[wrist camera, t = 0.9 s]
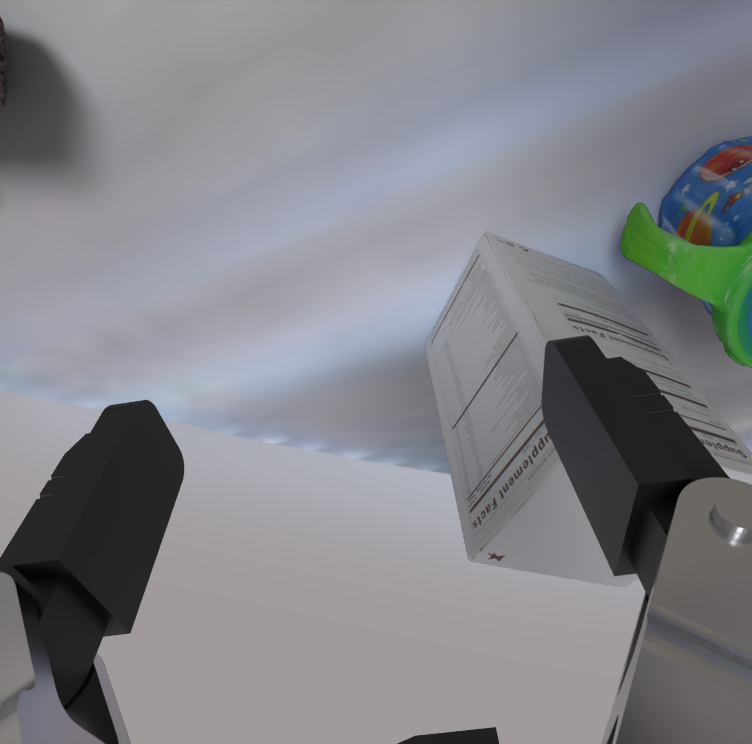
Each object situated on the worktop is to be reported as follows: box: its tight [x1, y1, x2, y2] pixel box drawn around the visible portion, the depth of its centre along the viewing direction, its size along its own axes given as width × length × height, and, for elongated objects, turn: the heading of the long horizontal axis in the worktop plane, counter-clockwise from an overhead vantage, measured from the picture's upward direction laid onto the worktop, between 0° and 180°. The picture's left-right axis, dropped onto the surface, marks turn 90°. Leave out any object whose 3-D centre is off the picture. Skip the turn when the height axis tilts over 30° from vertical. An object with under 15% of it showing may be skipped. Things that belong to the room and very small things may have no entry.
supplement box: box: [425, 233, 752, 587], centre depth 27 cm, size 10×9×17 cm
